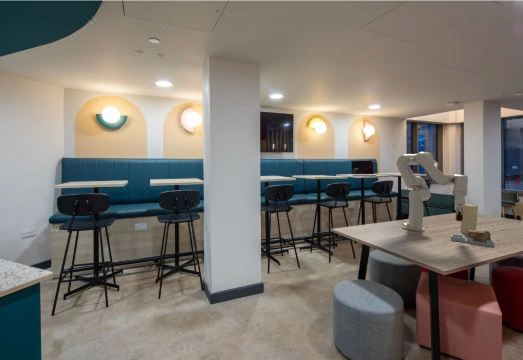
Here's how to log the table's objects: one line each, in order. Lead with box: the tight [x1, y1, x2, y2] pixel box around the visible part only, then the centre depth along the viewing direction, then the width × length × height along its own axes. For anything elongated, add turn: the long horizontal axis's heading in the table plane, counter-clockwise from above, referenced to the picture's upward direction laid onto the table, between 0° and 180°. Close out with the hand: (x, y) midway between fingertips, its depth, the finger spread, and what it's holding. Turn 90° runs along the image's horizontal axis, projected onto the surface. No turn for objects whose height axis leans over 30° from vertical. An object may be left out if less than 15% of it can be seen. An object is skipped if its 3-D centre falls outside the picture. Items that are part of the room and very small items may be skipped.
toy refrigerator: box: [460, 203, 479, 235], centre depth 206 cm, size 8×7×21 cm
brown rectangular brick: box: [455, 209, 463, 222], centre depth 189 cm, size 4×4×7 cm
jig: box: [450, 233, 495, 247], centre depth 186 cm, size 22×9×3 cm, turn 57°
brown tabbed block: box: [467, 229, 491, 242], centre depth 184 cm, size 12×5×7 cm, turn 57°
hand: (459, 219), depth 189 cm, fingers closed on brown rectangular brick, 4 cm apart
